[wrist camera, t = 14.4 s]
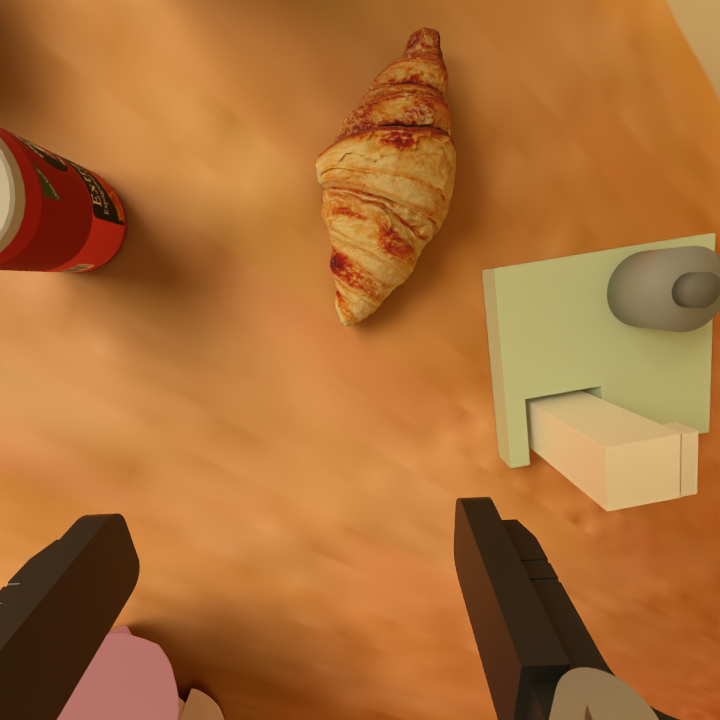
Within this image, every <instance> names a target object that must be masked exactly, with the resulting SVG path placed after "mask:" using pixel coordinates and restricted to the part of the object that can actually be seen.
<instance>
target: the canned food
mask: <svg viewBox="0 0 720 720" xmlns="http://www.w3.org/2000/svg"><path fill="white" fill-rule="evenodd" d="M126 230H127V227H126V216H125V211H124V208H123V206H122V203H121V201H120V199H119V198H118V196H117V195H116V193H115V192H114V190H113V189H112V188H111V187H110V186H109V185H108V184H107V183H106V182H105V181H104V179H102V178H101V177H99V176H98V175H97V174H95V173H94V172H92V171H90V170H88V169H86V168H84V167H82V166H80V165H77V164H75V163H73V162H71V161H69V160H67V159H65V158H63V157H61V156H58V155H56V154H54V153H52V152H50V151H48V150H46V149H44V148H42V147H40V146H37V145H35V144H33V143H31V142H29V141H27V140H25V139H23V138H21V137H19V136H16V135H14V134H12V133H10V132H8V131H6V130H4V129H2V128H0V270H14V271H41V272H68V273H79V272H87V271H90V270H93V269H96V268H98V267H100V266H102V265H104V264H105V263H107V262H109V261H110V260H111V259H112V258H113V257H114V256H115V255H116V254H117V253H118V251H119V250H120V248H121V247H122V244H123V242H124V239H125V235H126Z"/></svg>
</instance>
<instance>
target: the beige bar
mask: <svg viewBox="0 0 720 720" xmlns="http://www.w3.org/2000/svg"><path fill="white" fill-rule="evenodd" d="M525 405H526V418H527V432H528V446H529V447H530V448H531V449H532V450H533V451H535V452H536V453H537V454H538V455H539V456H541V457H542V458H543V459H544V460H546V461H547V462H548V463H549V464H550V465H552V466H553V467H554V468H555V469H556V470H558V471H559V472H560V473H561V474H562V475H564V476H565V477H566V478H567V479H568V480H570V481H571V482H572V483H573V484H574V485H576V486H577V487H578V488H579V489H580V490H582V491H583V492H584V493H585V494H586V495H588V496H589V497H590V498H591V499H592V500H594V501H595V502H596V503H597V504H599V505H600V506H601V507H602V508H603V509H605V510H606V511H613V510H618V509H623V508H629V507H634V506H639V505H644V504H650V503H655V502H660V501H665V500H671V499H676V498H681V497H683V496H688V495H693V494H697V476H698V431H697V430H695V429H692V428H690V427H687V426H685V425H682V424H680V423H677V422H674V423H668V424H663V425H661V424H659V423H656V422H654V421H652V420H649V419H647V418H645V417H642V416H640V415H638V414H635V413H633V412H631V411H628V410H626V409H624V408H621V407H619V406H617V405H614V404H612V403H610V402H607V401H605V400H602V399H600V398H598V397H595V396H593V395H591V394H588V393H586V392H584V391H581V390H575V391H569V392H564V393H558V394H552V395H546V396H541V397H535V398H529V399H525Z"/></svg>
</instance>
